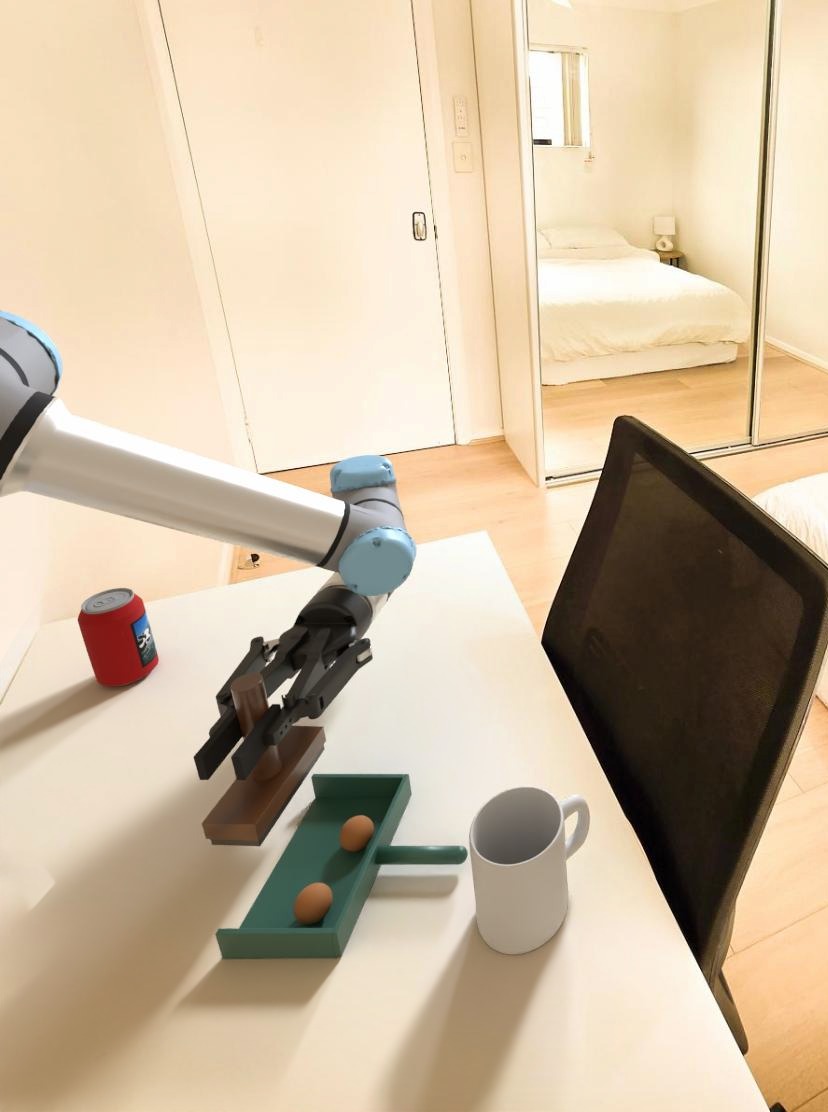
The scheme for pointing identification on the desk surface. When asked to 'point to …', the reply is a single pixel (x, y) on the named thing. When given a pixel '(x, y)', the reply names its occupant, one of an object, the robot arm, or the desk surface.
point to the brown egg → (313, 903)
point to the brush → (262, 773)
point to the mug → (523, 865)
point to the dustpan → (330, 869)
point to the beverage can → (117, 637)
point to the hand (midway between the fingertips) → (219, 768)
